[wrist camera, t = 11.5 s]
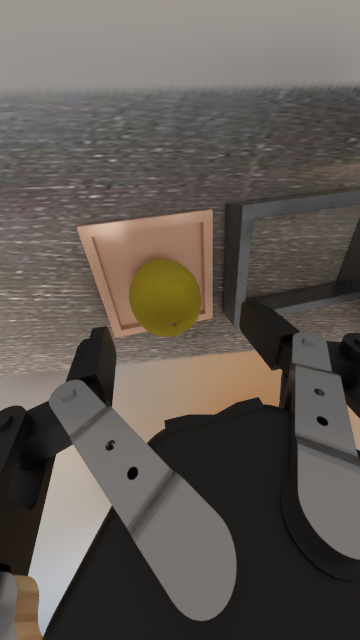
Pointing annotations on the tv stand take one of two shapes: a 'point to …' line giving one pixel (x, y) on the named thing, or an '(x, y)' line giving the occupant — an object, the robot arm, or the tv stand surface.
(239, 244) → the grey open box
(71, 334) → the tv stand surface
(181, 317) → the lemon
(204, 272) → the tray
